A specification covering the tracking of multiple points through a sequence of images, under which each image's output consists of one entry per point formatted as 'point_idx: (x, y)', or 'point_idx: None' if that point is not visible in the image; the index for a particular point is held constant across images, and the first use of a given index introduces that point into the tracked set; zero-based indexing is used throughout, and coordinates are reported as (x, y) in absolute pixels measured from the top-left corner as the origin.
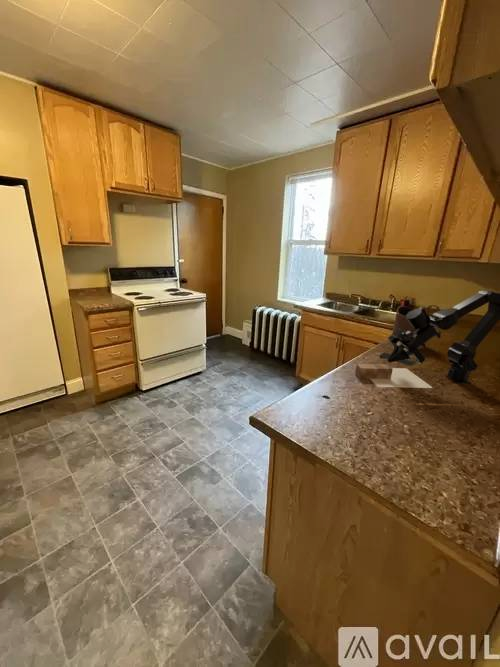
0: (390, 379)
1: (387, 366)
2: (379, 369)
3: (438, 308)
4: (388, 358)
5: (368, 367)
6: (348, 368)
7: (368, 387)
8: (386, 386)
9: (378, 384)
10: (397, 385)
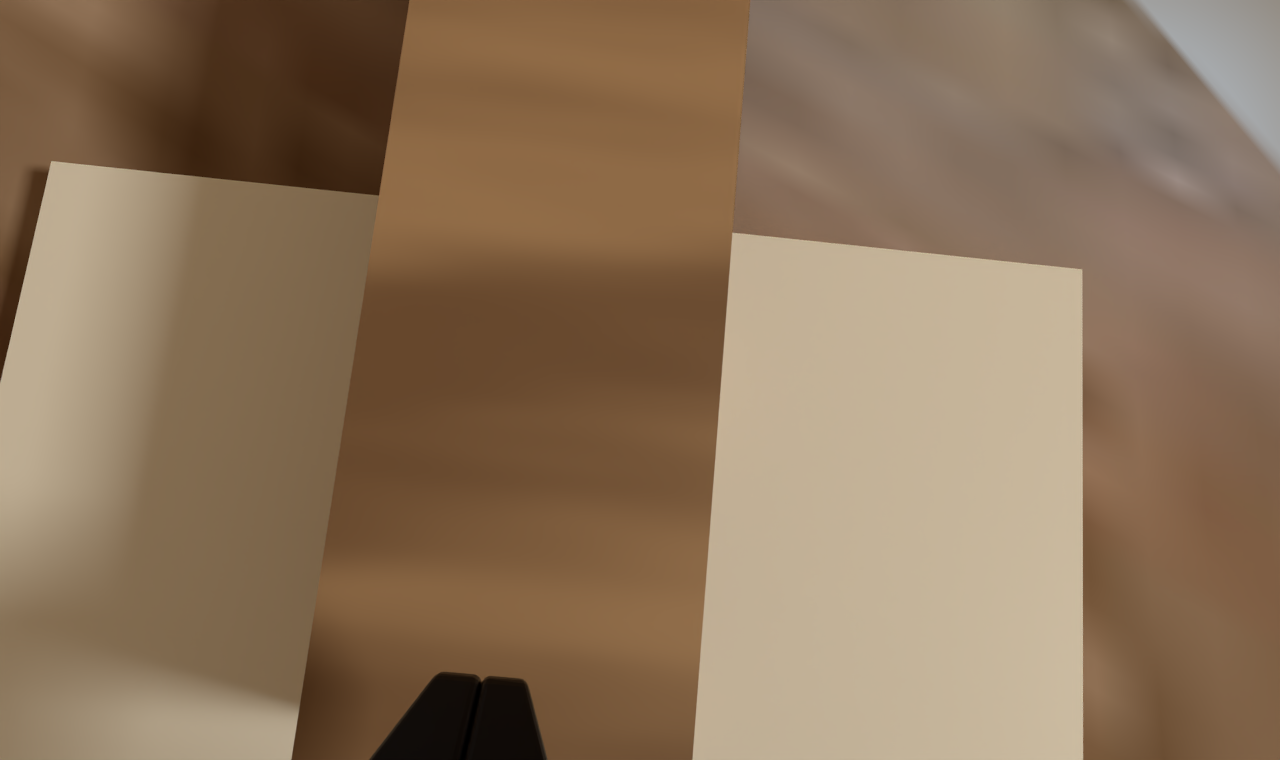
0: None
1: None
2: (366, 318)
3: None
4: (519, 746)
5: (481, 18)
6: (1056, 61)
7: (134, 13)
8: (27, 369)
9: (149, 239)
10: (21, 684)
